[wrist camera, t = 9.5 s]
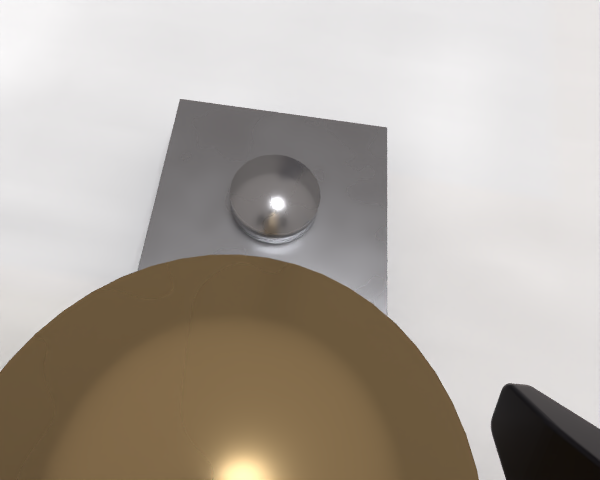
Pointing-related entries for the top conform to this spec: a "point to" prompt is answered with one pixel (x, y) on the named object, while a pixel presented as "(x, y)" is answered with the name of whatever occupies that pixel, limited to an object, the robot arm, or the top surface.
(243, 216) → the grey frame with knob
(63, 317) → the bronze cylinder
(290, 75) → the top surface
